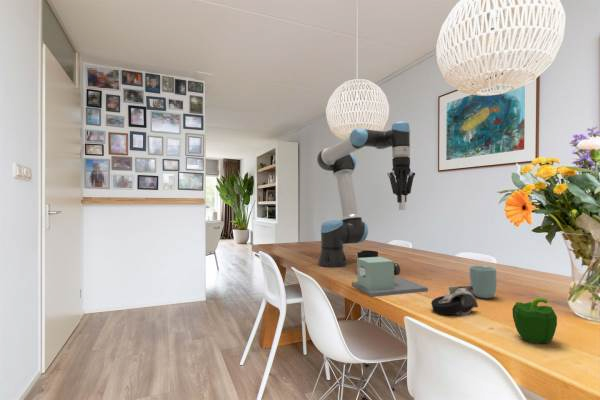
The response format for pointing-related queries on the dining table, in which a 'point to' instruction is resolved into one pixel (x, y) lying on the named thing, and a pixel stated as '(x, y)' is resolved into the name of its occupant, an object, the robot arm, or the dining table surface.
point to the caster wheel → (455, 301)
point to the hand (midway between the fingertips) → (402, 209)
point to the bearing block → (382, 278)
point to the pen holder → (367, 254)
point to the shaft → (396, 270)
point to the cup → (483, 281)
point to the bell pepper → (535, 321)
